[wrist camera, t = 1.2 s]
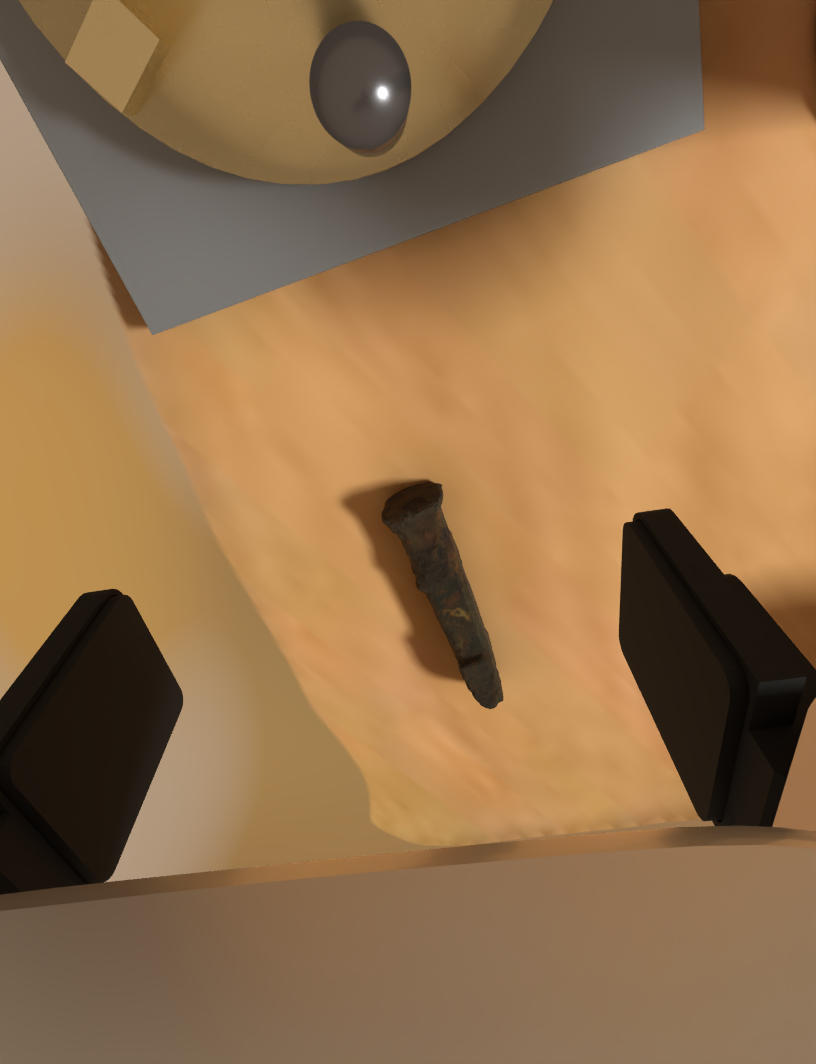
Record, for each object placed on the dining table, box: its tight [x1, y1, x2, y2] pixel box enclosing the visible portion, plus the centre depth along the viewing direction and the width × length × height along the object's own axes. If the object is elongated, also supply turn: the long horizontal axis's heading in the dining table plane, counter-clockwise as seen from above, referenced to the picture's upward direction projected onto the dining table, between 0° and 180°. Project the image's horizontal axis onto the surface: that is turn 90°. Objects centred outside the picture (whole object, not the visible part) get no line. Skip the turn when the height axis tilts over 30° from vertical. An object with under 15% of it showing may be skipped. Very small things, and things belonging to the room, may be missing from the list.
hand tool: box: [382, 482, 503, 709], centre depth 40 cm, size 19×4×5 cm, turn 18°
